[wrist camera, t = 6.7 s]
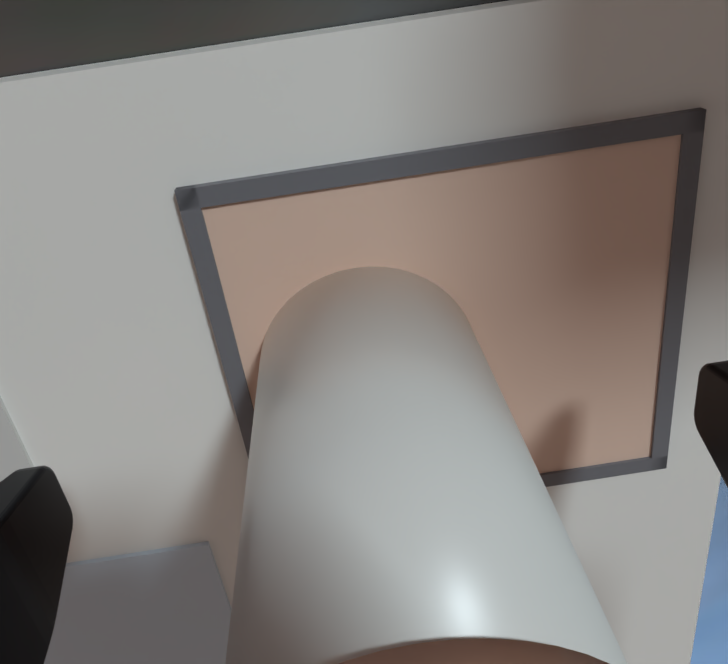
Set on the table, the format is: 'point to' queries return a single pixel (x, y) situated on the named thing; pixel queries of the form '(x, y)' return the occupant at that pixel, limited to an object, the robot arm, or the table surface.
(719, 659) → the table surface
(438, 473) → the light grey cylinder
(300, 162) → the picture board
